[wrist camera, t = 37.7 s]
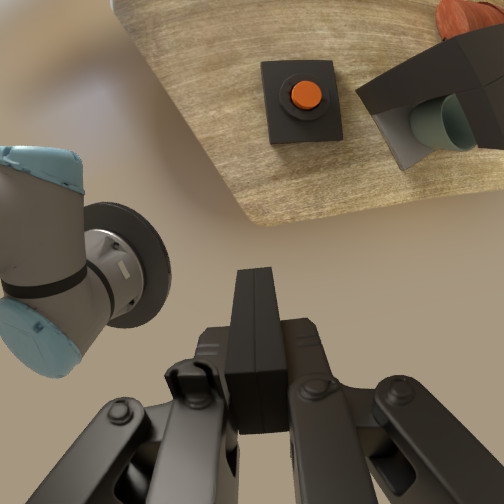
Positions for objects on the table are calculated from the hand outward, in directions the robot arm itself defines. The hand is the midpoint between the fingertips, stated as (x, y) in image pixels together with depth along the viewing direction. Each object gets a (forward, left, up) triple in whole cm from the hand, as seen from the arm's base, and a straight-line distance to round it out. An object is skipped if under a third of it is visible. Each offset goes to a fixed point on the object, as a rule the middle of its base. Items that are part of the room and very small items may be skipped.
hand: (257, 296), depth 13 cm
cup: (+27, +11, -27) cm, 40 cm away
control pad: (+8, +14, -28) cm, 33 cm away
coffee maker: (+26, +13, -28) cm, 41 cm away
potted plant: (+52, +32, -29) cm, 67 cm away
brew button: (+8, +14, -25) cm, 30 cm away
